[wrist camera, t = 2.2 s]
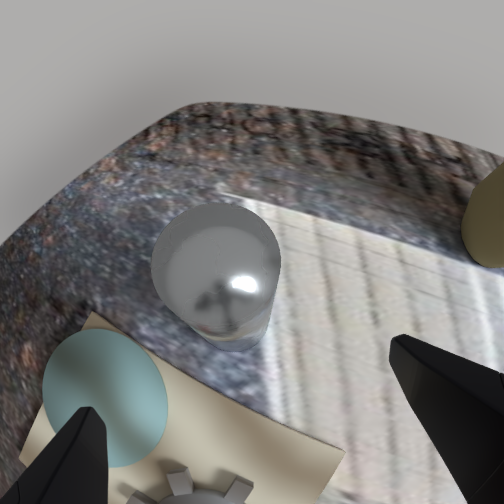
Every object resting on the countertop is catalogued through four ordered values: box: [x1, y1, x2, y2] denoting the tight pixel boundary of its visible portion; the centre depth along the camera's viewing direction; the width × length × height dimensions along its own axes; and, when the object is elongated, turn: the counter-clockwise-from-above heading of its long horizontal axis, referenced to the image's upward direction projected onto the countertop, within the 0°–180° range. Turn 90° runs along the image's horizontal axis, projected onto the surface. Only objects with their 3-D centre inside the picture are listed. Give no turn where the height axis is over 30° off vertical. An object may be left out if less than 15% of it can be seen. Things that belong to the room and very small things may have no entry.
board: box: [19, 311, 346, 504], centre depth 15 cm, size 16×22×4 cm
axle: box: [151, 203, 281, 352], centre depth 17 cm, size 5×5×11 cm
